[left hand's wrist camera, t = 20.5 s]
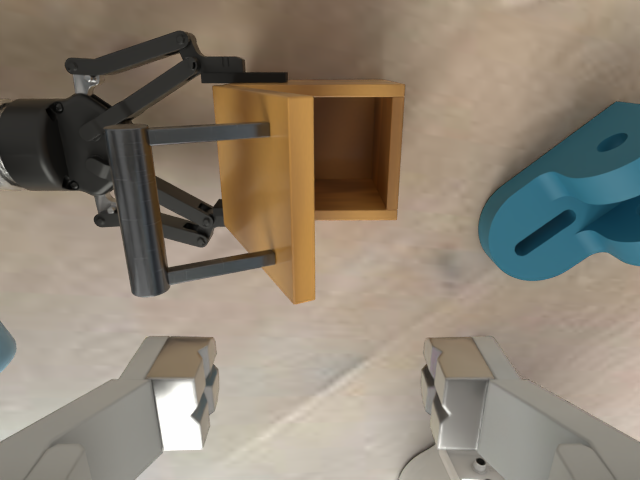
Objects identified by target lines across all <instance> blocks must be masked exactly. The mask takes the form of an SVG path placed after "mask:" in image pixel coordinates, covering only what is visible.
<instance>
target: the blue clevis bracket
mask: <svg viewBox="0 0 640 480" xmlns="http://www.w3.org/2000/svg"><path fill="white" fill-rule="evenodd" d="M478 233H479V239H480V243H481V246H482V248H483V250H484V251H485V253H486V254H487V255H488V256H489V257H490V258H491V260H492V261H493V262H494V263H495V264H496V265H497V266H498V267H499V268H500V269H501V270H502V271H503V272H505V273H506V274H508V275H510V276H512V277H514V278H517V279H521V280H527V281H538V280H545V279H549V278H552V277H555V276H558V275H560V274H562V273H564V272H565V271H567V270H569V269H570V268H572V267H573V266H575V265H576V264H578V263H579V262H581V261H582V260H584V259H585V258H587V257H588V256H590V255H592V254H595V253H599V252H607V253H610V254H611V255H613V256H614V257H616V258H618V259H619V260H621V261H623V262H625V263H627V264H631V265H635V266H640V104H634V103H626V102H617V101H616V102H615V103H614V104H612V105H611V106H609V107H608V108H607V109H605V110H604V111H603V112H601V113H600V114H599V115H597V116H596V117H595V118H593V119H592V120H590V121H589V122H588V123H586V124H585V125H584V126H582V127H581V128H580V129H578V130H577V131H576V132H574V133H573V134H572V135H570V136H569V137H567V138H566V139H565V140H563V141H562V142H561V143H559V144H558V145H557V146H555V147H554V148H553V149H551V150H550V151H548V152H547V153H546V154H544V155H543V156H542V157H540V158H539V159H538V160H536V161H535V162H534V163H532V164H531V165H530V166H528V167H527V168H525V169H524V170H523V171H521V172H520V173H519V174H517V175H516V176H515V177H513V178H512V179H511V180H509V181H508V182H507V183H505V184H504V185H502V186H501V187H500V188H499V189H498V190H497V191H495V192H494V194H493V195H492V196H491V197H490V198H489V200H488V201H487V203H486V204H485V206H484V208H483V210H482V213H481V216H480V220H479V226H478Z"/></svg>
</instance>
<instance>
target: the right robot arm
mask: <svg viewBox="0 0 640 480" xmlns="http://www.w3.org/2000/svg"><path fill="white" fill-rule="evenodd" d="M196 42H197V41H196V38H195V36H194V35H193V34H191V33H188V32H184V31H176V32H173V33H170V34H167V35H164V36H161V37H158V38H155V39H152V40H149V41H146V42H143V43H140V44H137V45H134V46H132V47H129V48H126V49H123V50H120V51H117V52H114V53H111V54H108V55H105V56H102V57H99V58H96V59H91V58H68V59H67V60H66V62H65V68H66V70H67V71H68V72H69V73H70V74H73V79H74V86H75V94H74V95H72V96H71V97H69V98H67V99H17V100H14V101H13V100H11V99H0V191H21V190H25V189H27V190H32V191H83V192H86V193H88V194H90V195H93V196H94V197H95V201H96V205H97V210H98V214H97V215H96V216H95V217H94V222H95V224H96V225H97V226H99V227H116V226H120V222H119V217H118V211H117V205H116V199H115V198H113V197H112V196H111V194H110V191H112V190H113V189H114V188H113V182H112V176H111V171H110V165H109V159H108V153H107V148H106V142H105V136H104V130H103V128H104V127H106V126H110V125H119V124H133V123H132V121H131V120H132V119H134V118H136V117H137V116H139V115H140V114H142V113H143V112H144V111H145V110H146V109H148V108H149V107H151V106H152V105H154V104H156V103H157V102H159V101H160V100H162V99H163V98H165V97H166V96H168V95H169V94H171V93H172V92H174V91H175V90H177V89H178V88H180V87H181V86H183V85H184V84H186V83H187V82H189V81H190V80H192V79H193V78H195V77H196V76H198V75H199V74H201V81H202V83H286V82H288V72H245V60H244V59H242V58H240V57H207V56H204V55H203V54H202V53H201V52H200V50H199V48H198V45H197V43H196ZM178 53H180V54H181V57H182V59H183V61H181V62H180V63H178V64H177V65H175V66H174V67H172V68H171V69H169V70H168V71H166V72H165V73H163V74H162V75H160V76H159V77H157V78H156V79H155V80H153V81H152V82H150V83H149V84H147V85H146V86H144V87H143V88H141V89H140V90H138V91H137V92H135V93H134V94H132V95H131V96H129V97H128V98H126V99H125V100H123V101H121V102H119V103H117V104H115V105H114V106H111V105H109V104H108V103H106V102H105V101H103V100H102V99H100V98H99V97H98V96H96V95H94V94H93V89H94V88H95V87H96V86H99V85H102V84H103V83H104V80H105V77H104V75H112V74H117V73H121V72H124V71H127V70H130V69H133V68H136V67H139V66H142V65H145V64H148V63H151V62H154V61H157V60H160V59H163V58H166V57H169V56H172V55H175V54H178ZM155 177H156V184H157V192H158V199H159V204H160V205H162V206H164V207H165V208H167V209H169V210H171V211H173V212H175V213H177V214H179V215H181V216H183V217H185V218H186V219H188V220H190V221H188V220H185V219H181V218H178V217H174V216H170V215H167V214H163V213H161V221H162V228H163V235H164V238H167V239H171V240H175V241H178V242H182V243H186V244H189V245H193V246H197V247H205V246H206V245H207V243H208V242H209V240H210V239H211V237H212V235H213V231H214V228H215V227H226V226H225V225H224V216H223V204H222V199H219V200H218V201H217V203H216V204H215V205H214V207H213V206H211V205H209V204H207V203H205V202H203V201H201V200H200V199H198V198H196V197H194V196H192V195H190V194H188V193H187V192H185V191H183V190H181V189H179V188H177V187H175V186H173V185H172V184H170V183H168V182H166V181H164V180H162V179H160V178H159V177H157V176H155ZM15 353H16V342H15V340H14V338H13V337H12V336H11V334H10V333H9V332H8V330H7V329H6V328H5V327H4V325H3V324H2V323H1V321H0V372H2V371H3V370H4V369H5V368H6V367H7V365H8V364H9V363H10V362H11V360H12V359H13V357H14V355H15Z"/></svg>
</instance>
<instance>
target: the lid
mask: <svg viewBox="0 0 640 480" xmlns="http://www.w3.org/2000/svg"><path fill="white" fill-rule="evenodd" d="M213 99H214V110H215V122H216V124H207V125H189V126H171V127H154V128H149V127H148V125H145V124H119V125H110V126H106V127H104V128H103V130H104V136H105V142H106V148H107V153H108V159H109V165H110V171H111V176H112V182H113V188H114V194H115V199H116V205H117V211H118V217H119V222H120V228H121V234H122V239H123V245H124V251H125V257H126V262H127V268H128V274H129V280H130V285H131V291H132V293H133V294H134V295H135V296H138V297H153V296H157V295H160V294H163V293H165V292H166V291H167V290H169V288H170V285H172V284H178V283H183V282H188V281H193V280H198V279H203V278H208V277H214V276H219V275H224V274H229V273H234V272H239V271H244V270H250V269H255V268H260V267H262V269H263V270H264V271H265V272H266V273H267V274H268V276H269V277H270V278H271V279H272V280H273V281H274V282H275V284H276V285H277V286H278V287H279V288H280V289H281V290H282V292H283V293H284V294H285V295H286V296H287V297H288V298H289V300H290V301H291V302H292V303H293V304H299V303H303V302H308V301H312V300H315V215H314V98H313V96H309V95H302V94H294V93H286V92H279V91H271V90H263V89H255V88H248V87H240V86H232V85H214V86H213ZM209 141H217V146H218V157H219V169H220V181H221V192H222V204H223V216H224V225H225V226H226V227H227V228H228V230H229V231H230V232H231V233H232V234H233V235H234V237H235V238H236V239H237V240H238V241H239V242H240V243H241V245H242V246H243V247H244V248H245V249H246V250H247V251H248V253H247V254H241V255H236V256H230V257H225V258H219V259H213V260H208V261H202V262H197V263H191V264H185V265H180V266H174V267H169V268H168V264H167V257H166V250H165V242H164V235H163V228H162V221H161V213H160V206H159V199H158V192H157V184H156V177H155V170H154V163H153V155H152V148H151V146H154V145H168V144H182V143H195V142H209Z"/></svg>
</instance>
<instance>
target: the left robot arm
mask: <svg viewBox="0 0 640 480" xmlns="http://www.w3.org/2000/svg"><path fill="white" fill-rule="evenodd" d="M216 354H217V351H216V343H215V340H214V338H213V337H179V336H171V337H169V336H149V337H147V338H145V339H144V341H143V343H142V344H141V346H140V347H139V349H138V350H137V352H136V353H135V355H134V356H133V358H132V359H131V361H130V362H129V364H128V365H127V367H126V369H125V370H124V372H123V373H122V375H121V376H120V378H119V379H112V380H110V381H108V382H106V383H104V384H103V385H101V386H99V387H97V388H96V389H94V390H92V391H90V392H88V393H87V394H85V395H83V396H81V397H79V398H78V399H76V400H74V401H72V402H71V403H69V404H67V405H65V406H63V407H62V408H60V409H58V410H56V411H54V412H53V413H51V414H49V415H47V416H46V417H44V418H42V419H40V420H38V421H37V422H35V423H33V424H31V425H30V426H28V427H26V428H24V429H22V430H21V431H19V432H17V433H15V434H13V435H12V436H10V437H8V438H6V439H5V440H3V441H1V442H0V480H135V479H136V478H137V477H138V476H139V475H140V474H141V473H142V472H143V471H144V470H145V469H146V468H147V467H148V466H149V465H150V464H151V463H152V462H154V461H155V460H156V459H157V458H158V457H159V456H160V455H161V454H162V453H163V451H162V450H197V449H203V447H204V444H205V441H206V437H207V434H208V431H209V428H210V420H209V415H210V414H212V413H213V412H214V411H215V408H216V405H217V401H218V393H219V371H218V368H217V367H216V366H215V365H214V364H213V363H214V360H215V357H216ZM423 354H424V357H425V360H426V363H427V364H426V365H425V366H424V367H423V368H422V371H421V395H422V400H423V405H424V408H425V411H426V412H427V413H428V414H430V415H431V420H430V428H431V431H432V434H433V437H434V440H435V445H434V446H432V447H431V448H429V449H428V450H426V451H424V452H422V453H421V454H419V455H418V456H416V457H415V458H414V459H412V460H411V461H410V462H409V463H408V464H407V465H406V467H405V468H404V469H403V471H402V473H401V475H400V477H399V480H640V442H639V441H637V440H635V439H633V438H632V437H630V436H628V435H626V434H624V433H623V432H621V431H619V430H617V429H616V428H614V427H612V426H610V425H608V424H607V423H605V422H603V421H601V420H600V419H598V418H596V417H594V416H592V415H591V414H589V413H587V412H585V411H584V410H582V409H580V408H578V407H576V406H575V405H573V404H571V403H569V402H568V401H566V400H564V399H562V398H560V397H559V396H557V395H555V394H553V393H552V392H550V391H548V390H546V389H544V388H543V387H541V386H539V385H537V384H536V383H534V382H532V381H530V380H528V379H521V378H520V376H519V375H518V373H517V372H516V370H515V369H514V367H513V366H512V364H511V363H510V361H509V360H508V358H507V357H506V355H505V354H504V352H503V351H502V349H501V348H500V346H499V345H498V343H497V341H496V340H495V338H493V337H492V336H474V337H443V338H426V339H425V343H424V350H423Z"/></svg>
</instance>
